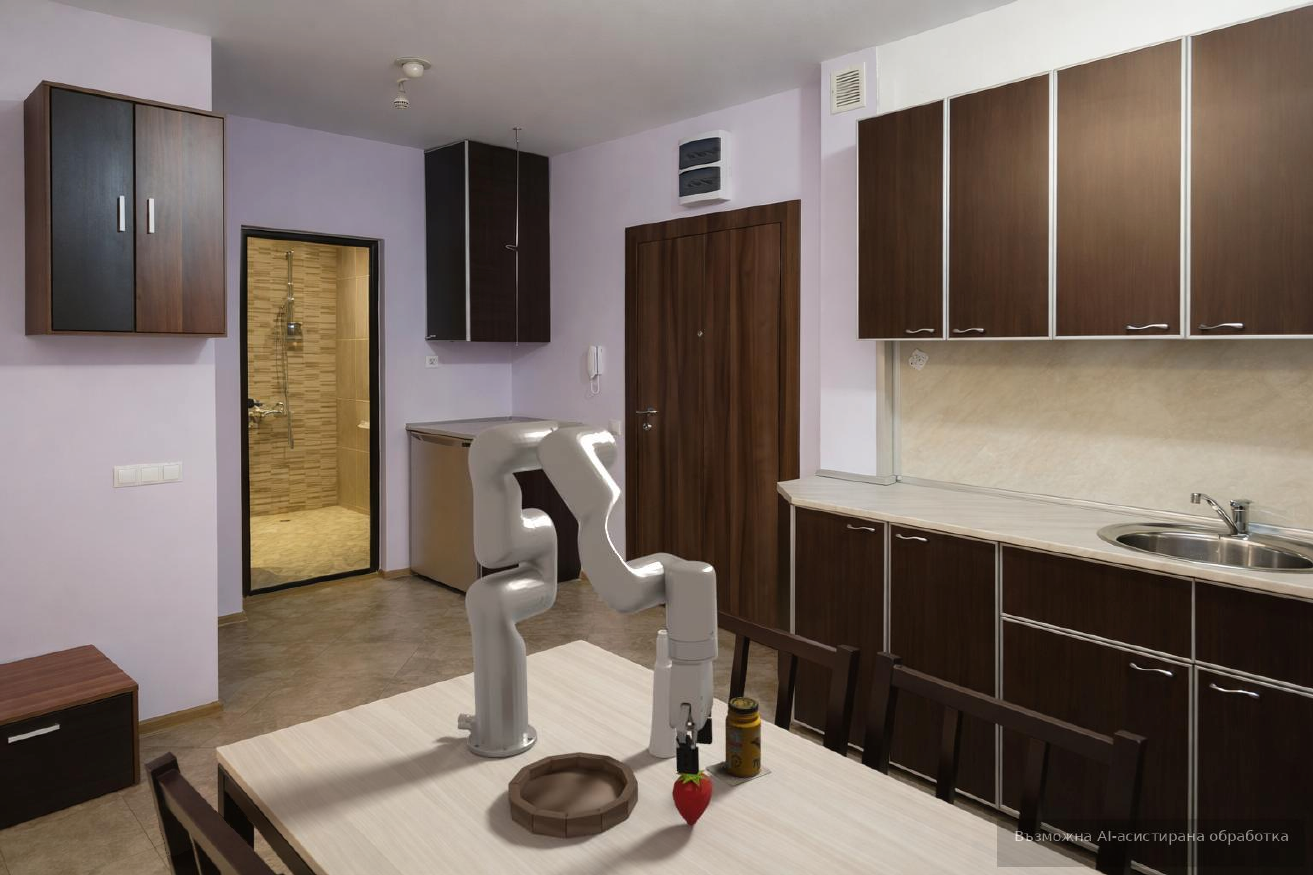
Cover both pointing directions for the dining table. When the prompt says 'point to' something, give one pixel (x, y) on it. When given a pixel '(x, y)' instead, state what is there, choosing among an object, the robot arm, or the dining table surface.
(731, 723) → the condiment
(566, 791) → the tray
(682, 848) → the dining table surface
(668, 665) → the cosmetic bottle
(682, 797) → the strawberry
